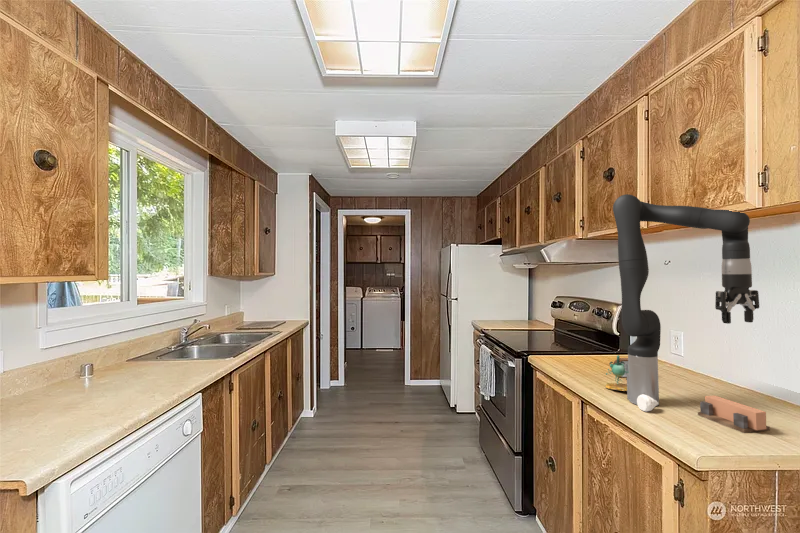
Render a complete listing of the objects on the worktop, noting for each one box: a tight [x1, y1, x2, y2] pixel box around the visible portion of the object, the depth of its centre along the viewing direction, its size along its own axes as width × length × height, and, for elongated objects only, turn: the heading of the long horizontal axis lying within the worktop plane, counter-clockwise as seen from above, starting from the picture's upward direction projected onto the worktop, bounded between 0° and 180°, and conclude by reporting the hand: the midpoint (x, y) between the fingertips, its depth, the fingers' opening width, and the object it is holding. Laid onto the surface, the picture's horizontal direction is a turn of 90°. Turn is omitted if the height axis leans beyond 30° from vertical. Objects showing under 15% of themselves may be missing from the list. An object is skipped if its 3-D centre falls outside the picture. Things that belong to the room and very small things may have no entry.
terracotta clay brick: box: [704, 394, 767, 430], centre depth 126 cm, size 4×16×5 cm, turn 10°
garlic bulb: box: [637, 394, 659, 413], centre depth 138 cm, size 6×6×5 cm
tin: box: [612, 357, 629, 379], centre depth 179 cm, size 15×3×8 cm, turn 81°
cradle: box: [697, 400, 771, 434], centre depth 126 cm, size 15×9×4 cm, turn 10°
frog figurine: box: [605, 354, 629, 392], centre depth 162 cm, size 10×18×15 cm, turn 175°
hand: (737, 322), depth 132 cm, fingers open, 8 cm apart
